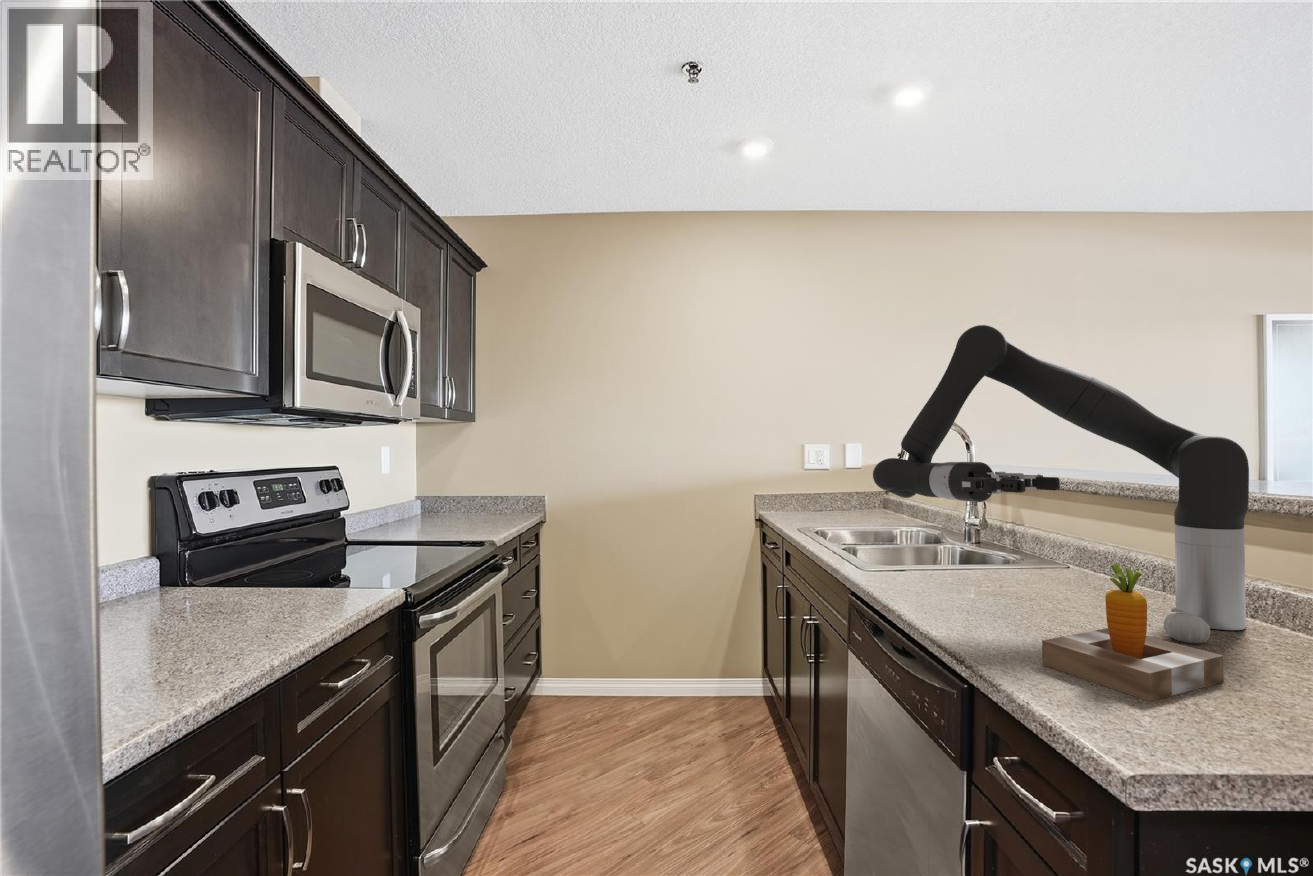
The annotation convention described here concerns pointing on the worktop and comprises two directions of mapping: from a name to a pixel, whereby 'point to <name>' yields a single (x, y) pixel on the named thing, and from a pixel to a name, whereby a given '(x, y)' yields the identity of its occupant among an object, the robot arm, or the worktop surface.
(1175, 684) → the brown and silver frame
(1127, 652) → the carrot
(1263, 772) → the worktop surface
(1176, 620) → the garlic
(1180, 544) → the robot arm
